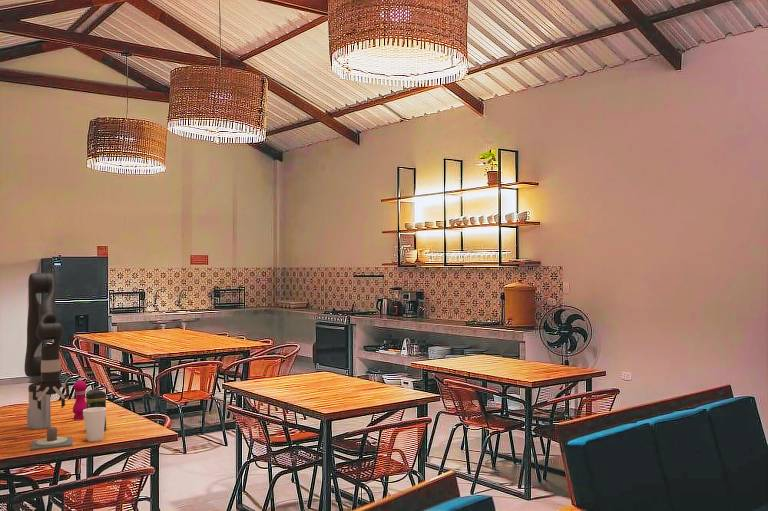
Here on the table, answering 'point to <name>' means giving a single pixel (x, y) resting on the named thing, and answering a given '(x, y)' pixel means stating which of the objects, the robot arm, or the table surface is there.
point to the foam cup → (94, 423)
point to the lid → (51, 438)
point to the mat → (37, 447)
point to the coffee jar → (96, 400)
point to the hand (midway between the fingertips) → (51, 408)
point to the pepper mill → (79, 399)
